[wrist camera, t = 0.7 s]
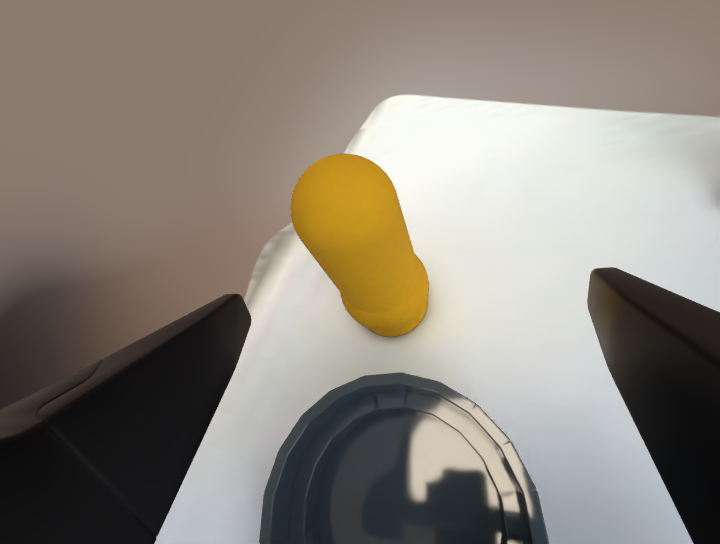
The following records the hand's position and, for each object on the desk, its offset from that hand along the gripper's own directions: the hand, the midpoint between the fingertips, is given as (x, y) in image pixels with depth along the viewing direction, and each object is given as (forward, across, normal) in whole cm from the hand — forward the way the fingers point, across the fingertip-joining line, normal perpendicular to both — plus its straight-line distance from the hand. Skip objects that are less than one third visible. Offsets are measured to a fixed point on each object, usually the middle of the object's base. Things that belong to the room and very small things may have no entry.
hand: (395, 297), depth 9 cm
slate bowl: (+2, +2, +16) cm, 16 cm away
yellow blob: (+13, +3, +10) cm, 17 cm away
